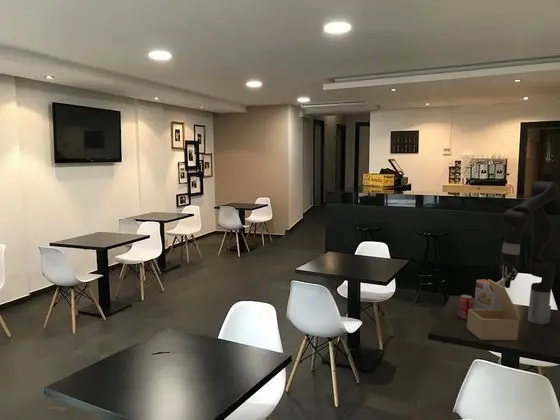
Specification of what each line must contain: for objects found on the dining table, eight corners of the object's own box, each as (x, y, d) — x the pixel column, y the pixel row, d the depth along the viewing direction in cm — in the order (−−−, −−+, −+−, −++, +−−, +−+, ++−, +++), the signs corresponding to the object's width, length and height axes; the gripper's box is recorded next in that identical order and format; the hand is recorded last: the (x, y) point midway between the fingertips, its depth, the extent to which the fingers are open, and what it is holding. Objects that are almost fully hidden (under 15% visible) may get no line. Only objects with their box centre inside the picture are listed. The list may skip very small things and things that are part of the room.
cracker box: (472, 316, 240) (475, 279, 238) (481, 315, 242) (484, 278, 240) (491, 326, 227) (495, 286, 225) (501, 325, 229) (504, 286, 226)
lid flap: (503, 309, 223) (513, 304, 223) (519, 319, 209) (530, 313, 209) (487, 279, 220) (497, 274, 220) (503, 288, 207) (513, 282, 206)
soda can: (470, 316, 241) (472, 295, 239) (472, 320, 234) (474, 299, 232) (456, 314, 243) (458, 293, 241) (458, 319, 236) (460, 297, 234)
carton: (501, 328, 224) (503, 309, 223) (517, 340, 210) (519, 320, 209) (466, 328, 223) (468, 309, 222) (480, 339, 209) (482, 319, 208)
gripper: (526, 255, 205) (521, 291, 207) (510, 249, 219) (505, 283, 221) (511, 254, 205) (506, 291, 207) (495, 248, 219) (491, 282, 221)
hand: (505, 287), depth 214 cm, fingers closed
